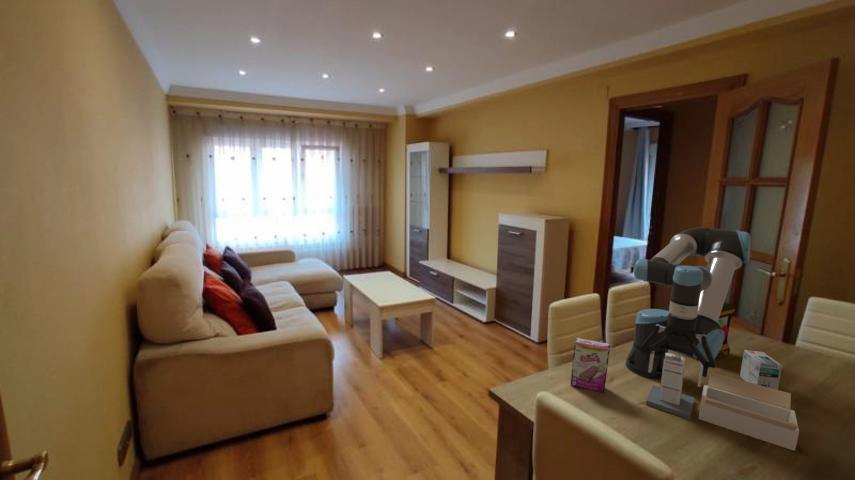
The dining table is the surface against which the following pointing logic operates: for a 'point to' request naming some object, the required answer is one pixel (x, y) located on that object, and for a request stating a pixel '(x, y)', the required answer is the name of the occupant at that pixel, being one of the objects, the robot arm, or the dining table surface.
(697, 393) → the dining table surface
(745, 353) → the light bulb box
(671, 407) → the slate mat
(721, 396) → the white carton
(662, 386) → the syrup box
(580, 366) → the candy bar box
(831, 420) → the dining table surface
